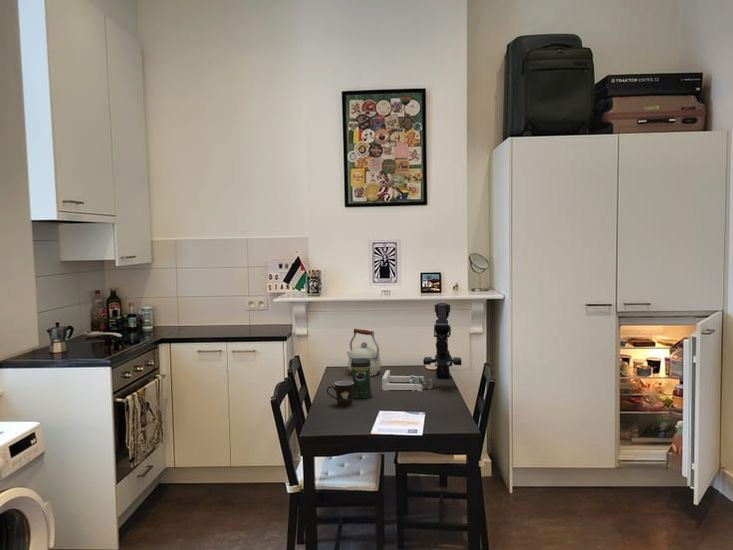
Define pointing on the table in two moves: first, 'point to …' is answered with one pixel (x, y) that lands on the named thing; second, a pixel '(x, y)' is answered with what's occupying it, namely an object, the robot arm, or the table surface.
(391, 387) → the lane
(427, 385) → the egg carton
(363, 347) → the kettle
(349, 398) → the coffee mug
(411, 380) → the bar
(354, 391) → the coffee jar
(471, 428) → the table surface
